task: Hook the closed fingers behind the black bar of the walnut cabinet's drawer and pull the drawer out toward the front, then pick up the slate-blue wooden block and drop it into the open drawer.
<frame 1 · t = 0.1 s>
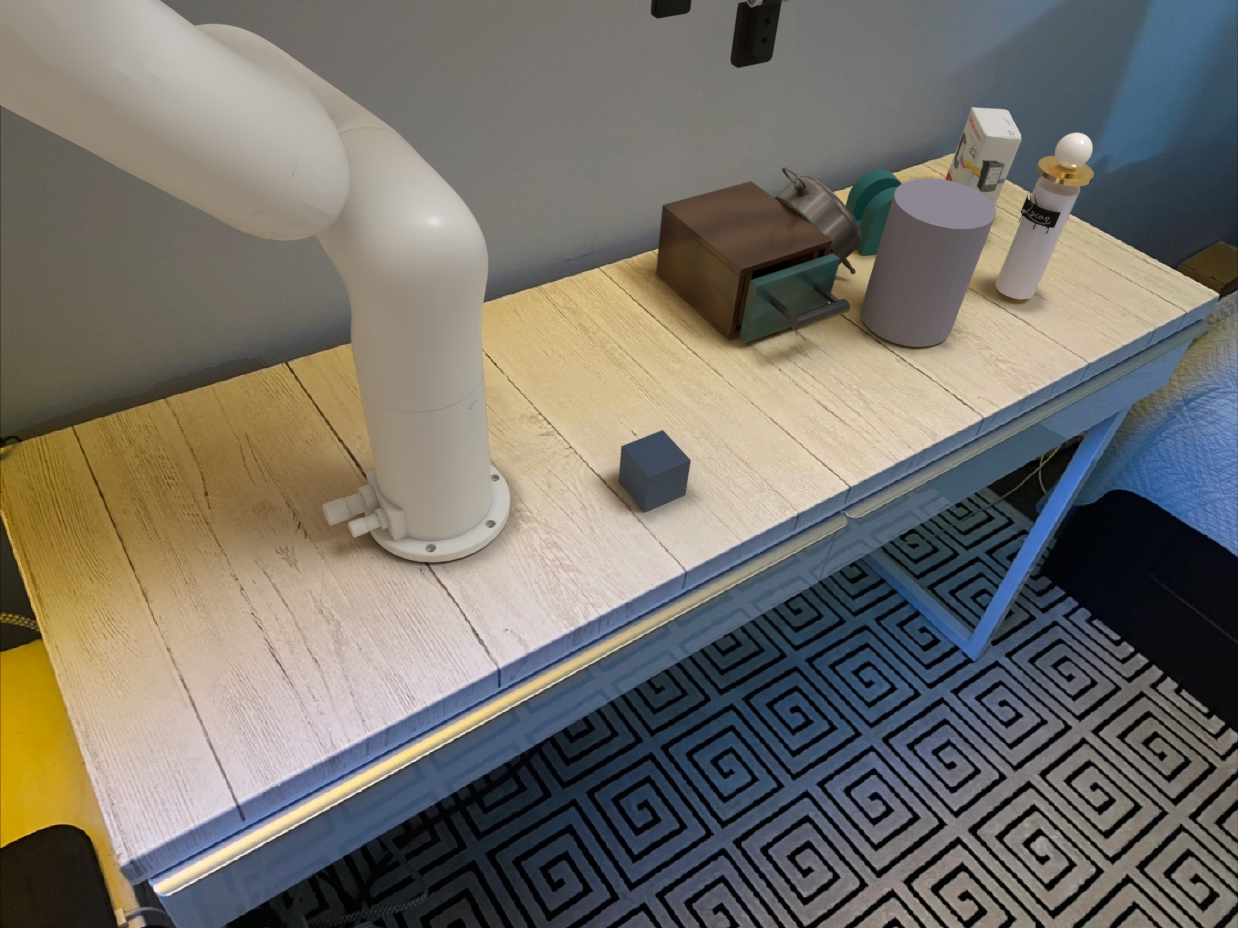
hand: (708, 37, 65), 37 cm above the table, tool pointing down, fingers open, 9 cm apart
bracket: (913, 236, 119), on the table
cabinet: (734, 291, 107), on the table
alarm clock: (838, 250, 112), point 1 cm above the table, touching cabinet
ink box: (965, 205, 125), on the table
container: (904, 322, 105), on the table
perfume bottle: (1011, 294, 110), on the table
drawer: (768, 280, 101), point 5 cm above the table, slide at 1.0 cm
block: (651, 487, 84), on the table
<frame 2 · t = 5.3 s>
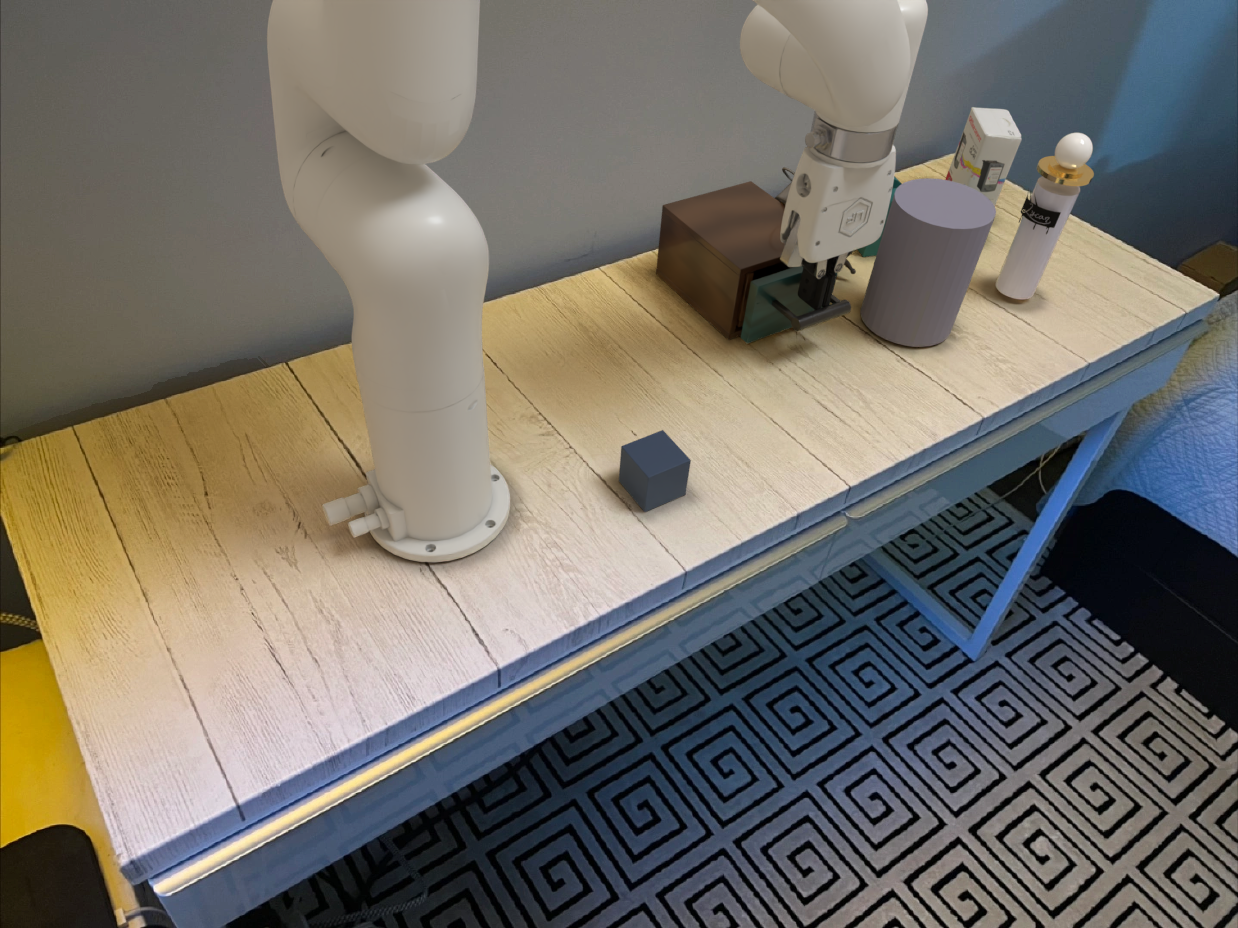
hand: (812, 301, 96), 6 cm above the table, tool pointing down, fingers closed
drawer: (769, 281, 101), point 5 cm above the table, slide at 1.2 cm, touching gripper
everything else where it was.
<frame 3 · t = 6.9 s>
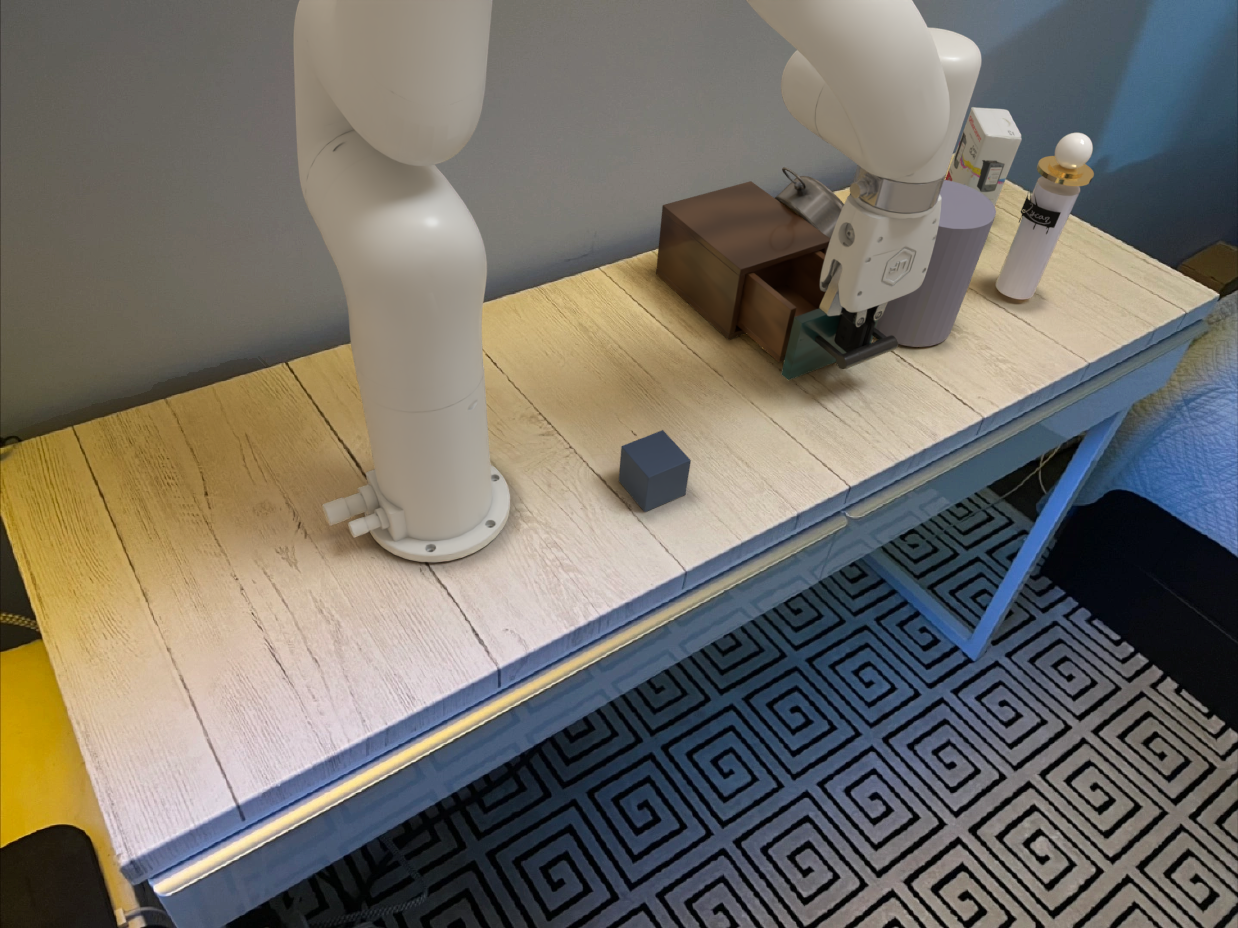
hand: (849, 347, 94), 4 cm above the table, tool pointing down, fingers closed
drawer: (810, 315, 97), point 5 cm above the table, slide at 8.2 cm, touching gripper
everything else where it was.
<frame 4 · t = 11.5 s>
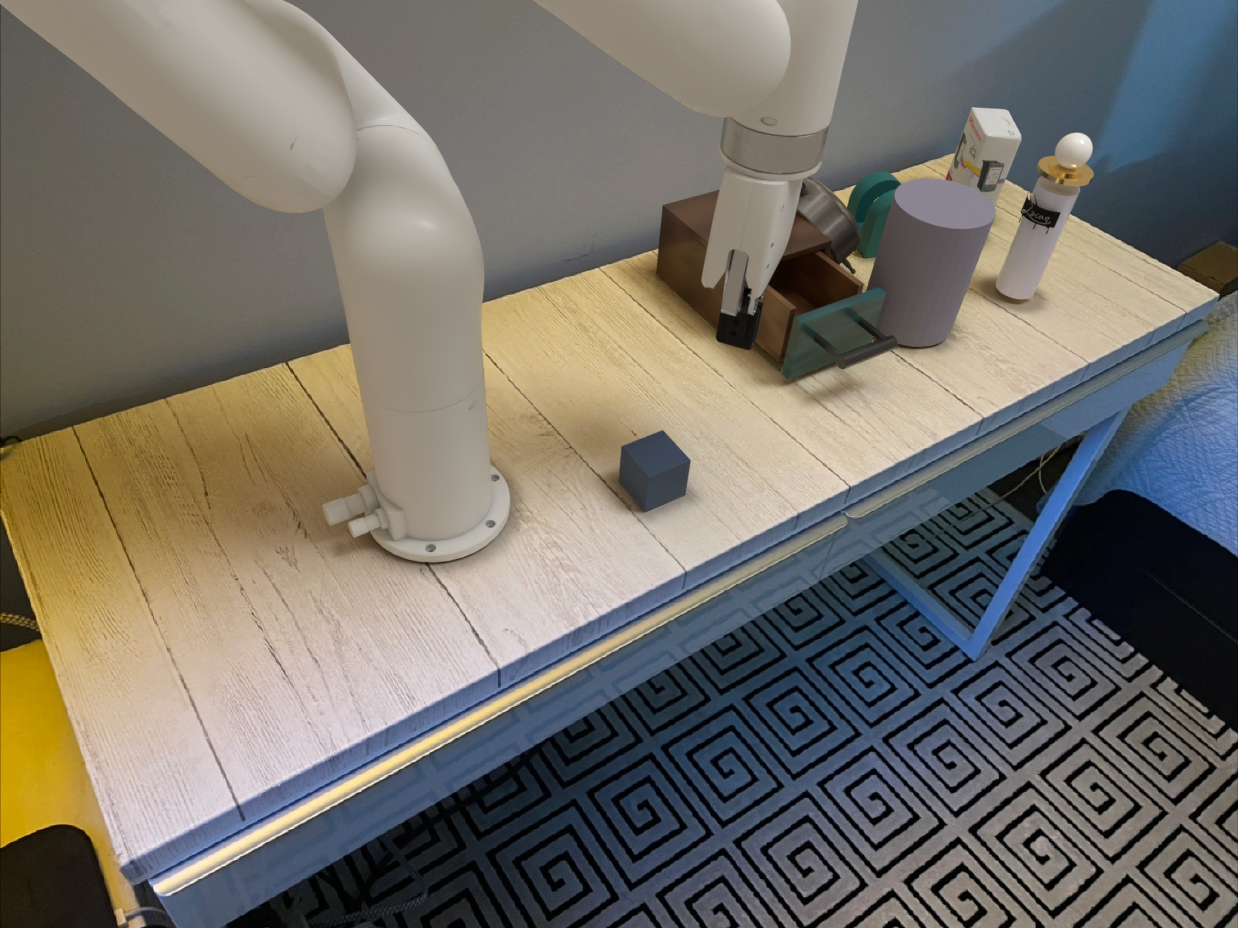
hand: (735, 340, 79), 13 cm above the table, tool pointing down, fingers closed
drawer: (810, 314, 97), point 5 cm above the table, slide at 8.2 cm
everything else where it was.
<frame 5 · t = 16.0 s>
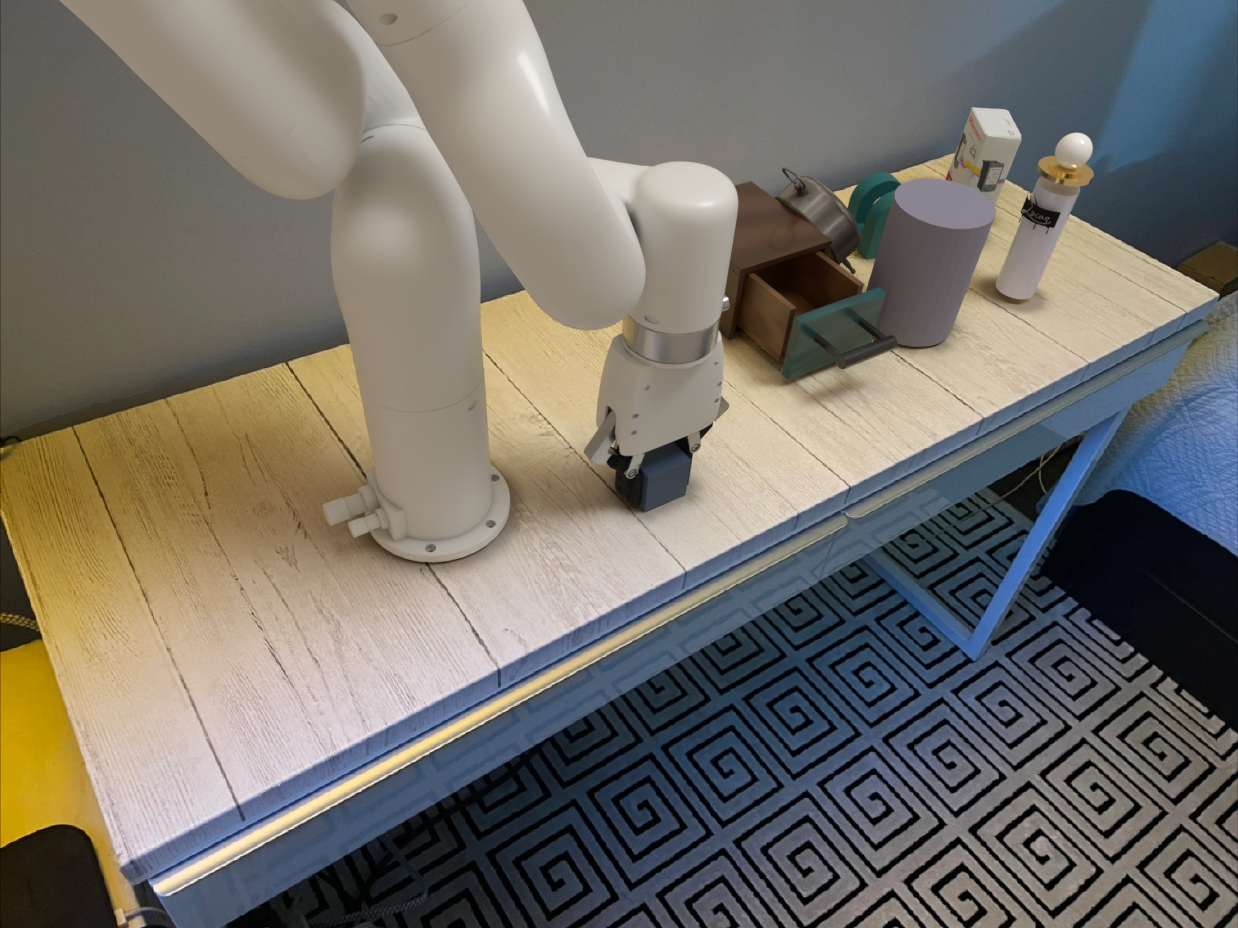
hand: (652, 485, 84), 0 cm above the table, tool pointing down, fingers closed on block, 4 cm apart
block: (651, 487, 84), on the table, touching gripper
everything else where it was.
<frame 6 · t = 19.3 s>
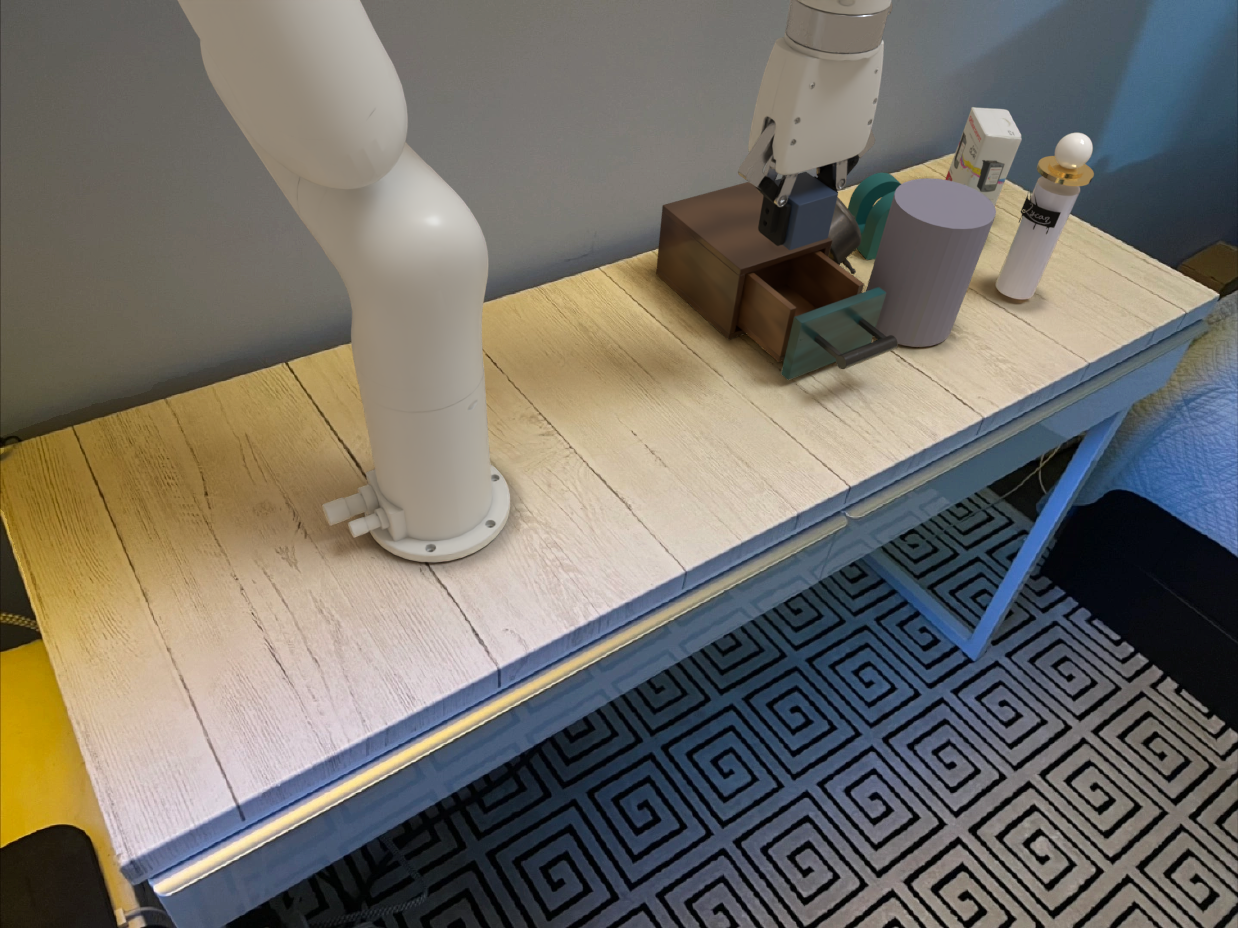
hand: (793, 229, 84), 18 cm above the table, tool pointing down, fingers closed on block, 4 cm apart
block: (793, 232, 84), point 17 cm above the table, touching gripper
everything else where it was.
when the fingers open (6 cm above the table, at t = 23.5 s): block stays where it is, resting on drawer.
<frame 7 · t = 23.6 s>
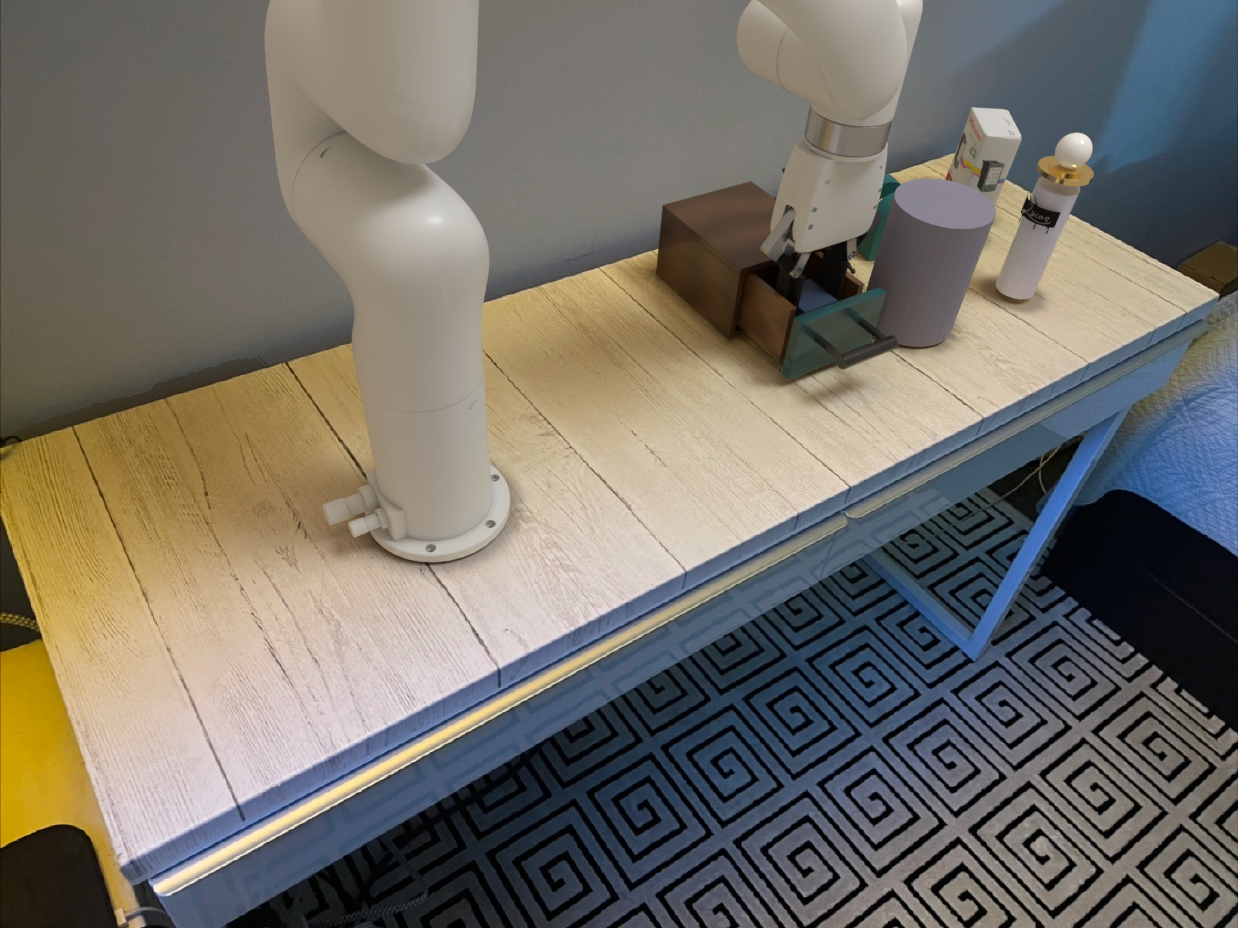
hand: (807, 293, 96), 7 cm above the table, tool pointing down, fingers open, 5 cm apart
drawer: (810, 315, 97), point 5 cm above the table, slide at 8.2 cm, touching block, gripper
block: (799, 329, 99), point 2 cm above the table, touching drawer
everything else where it was.
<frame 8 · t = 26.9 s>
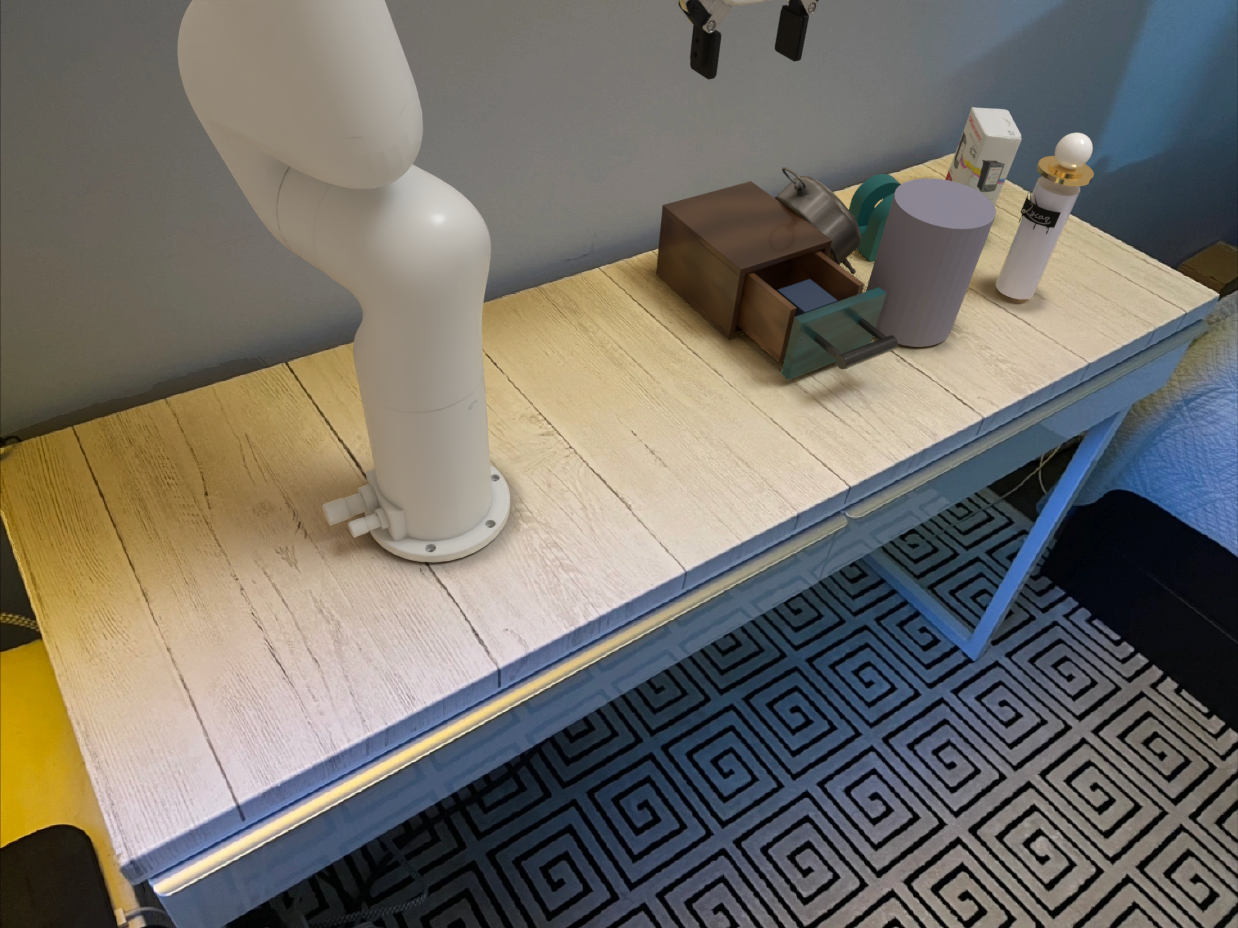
hand: (745, 64, 83), 28 cm above the table, tool pointing down, fingers open, 9 cm apart
drawer: (810, 315, 97), point 5 cm above the table, slide at 8.2 cm, touching block
everything else where it was.
at the end: drawer slide at 8.2 cm; block inside the target area in the cabinet (6.4 cm from its centre), point 2.0 cm above the cabinet's base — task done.
